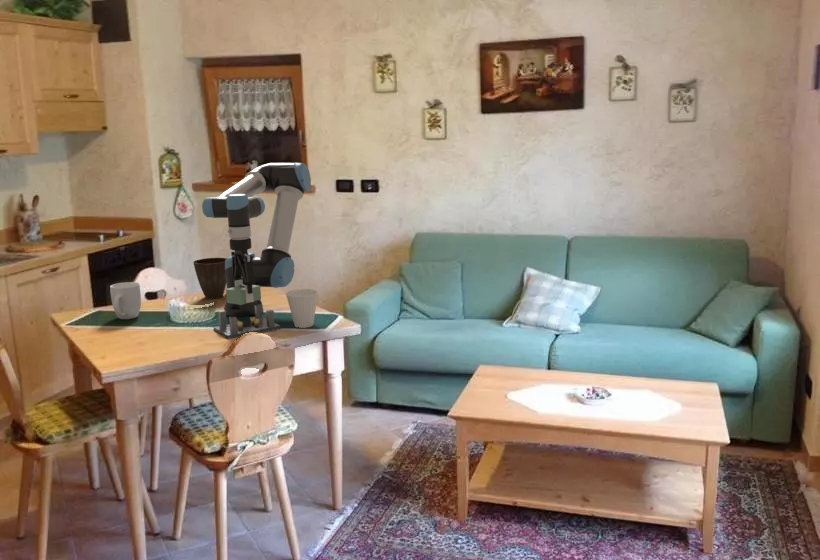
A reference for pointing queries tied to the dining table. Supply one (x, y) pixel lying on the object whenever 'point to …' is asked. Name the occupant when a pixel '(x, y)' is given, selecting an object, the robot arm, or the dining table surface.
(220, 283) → the plant pot
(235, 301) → the block
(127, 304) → the mug
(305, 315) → the cup
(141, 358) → the dining table surface
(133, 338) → the dining table surface
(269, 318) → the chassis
